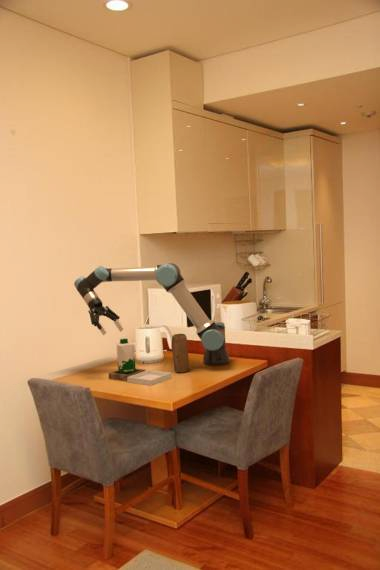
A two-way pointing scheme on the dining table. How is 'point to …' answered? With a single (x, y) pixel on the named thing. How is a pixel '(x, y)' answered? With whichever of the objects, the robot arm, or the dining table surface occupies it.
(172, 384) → the dining table surface
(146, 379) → the tray
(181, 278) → the robot arm
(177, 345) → the block
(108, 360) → the dining table surface
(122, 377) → the dark brown square tray
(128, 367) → the soya milk
